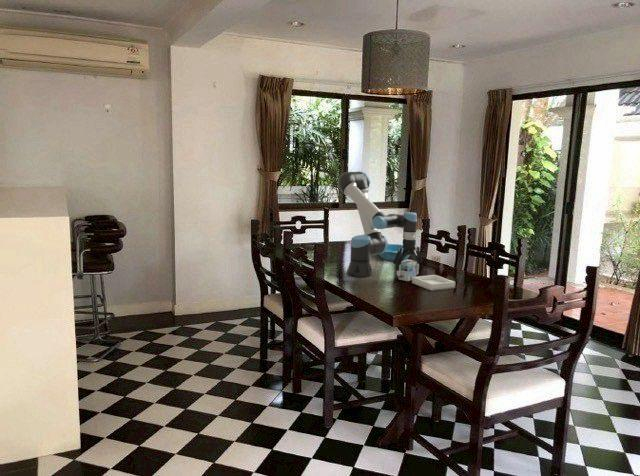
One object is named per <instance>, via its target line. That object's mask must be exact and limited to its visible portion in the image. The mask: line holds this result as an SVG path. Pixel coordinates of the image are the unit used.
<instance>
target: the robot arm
mask: <svg viewBox="0 0 640 476" xmlns="http://www.w3.org/2000/svg"><path fill="white" fill-rule="evenodd" d="M370 184H371V178H370V176H369V175H368V174H367V173H366V172H363V171H346V172H342V173H341V174H340V175H339V177H338V179H337V186H338V189H339V190H340V192H342V194H343V195H345V196H348V198H350V199H351V200H352V202H354V203H355V204H356V207H357V211H358V215H359V218H360V222H361V223H360V224H361V226H362V229H363V232H364V233H363V234H359V235H354V236H353V237H352V238H351V241H350V261H349V264H348V267H347V271H346V274H347V275H348V276H350V277H354V278H355V277H356V278H365V277H366V278H367V277H371V276H372V275H373V270H372V268H371V267H372V266H371V263H370V261H371V258H370V257H371V256H377V255H378V256H379V254H381V253H384V252H385V251H386V249H387V246H388V244H389V242H388V238H386V236H385V235H383V234H382V231H381V230H384V229H392V228H402V245H403V248H398V252H397V254H396V257H395V259H394V260H393V261H392V262H393V263H392V264H394V265H395V270H396V276H397V277H399V276H400V274H401V265H400V264H401V262H402V261H404V260H403V259H404V257H405V256H406V255H409V254H410V256H412V258H413V259H414V261H417V271H416V276H417V275H419V269H420V266H421V264H422V263H423V262H424V261H423V258H422V254H421V251H420V249H421V248H420V246H416V245H417V243H416V241H417V240H416V238H417V226H418V225H417V223H418V215H417V212H412V211H411V212H410V211H406V212H404V213H403V214H398V213H388V214H387V215H385V214H384V212H382V211H381V209H380V208H379V207H377V205H376V204H375V203H374V202H372V200H370V197H369V195H368V194H369V190H370V189H369V188H370ZM402 250H403V252H402ZM401 253H402V255H401ZM404 253H405V254H404Z"/></svg>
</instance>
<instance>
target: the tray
mask: <svg viewBox="0 0 640 476" xmlns="http://www.w3.org/2000/svg"><path fill="white" fill-rule="evenodd" d="M411 283H412V284H414V285H416V286H418V287H422V288H424V289H426V290H429V291H431V292H432V291H433V292H435V291H440V290H441V291H442V290H451V289H456V281H455V280H450V279H448V278H445V277H443V276H440V275H437V274H429V275H419V276H416V277H412V280H411Z"/></svg>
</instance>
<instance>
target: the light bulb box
mask: <svg viewBox="0 0 640 476" xmlns="http://www.w3.org/2000/svg"><path fill="white" fill-rule="evenodd" d="M400 265H401V274H400V276H397V277H398V280H400V281H405V282H410V281H412V277H417V274H416V271H417V261H415V259H414V260H413V259H409V258H408V259H406V260H403V261H402V262H401V264H400Z"/></svg>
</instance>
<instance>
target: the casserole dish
mask: <svg viewBox="0 0 640 476" xmlns="http://www.w3.org/2000/svg"><path fill="white" fill-rule="evenodd" d="M398 248H403V244H397V243H388V246H387V249H386V251H385V252H384V253H381V254H379V255H378V256H379V257H380V258H382V259H383V260H385V261H394V259H395V257H396V254H397V252H398ZM402 252H403V250H402ZM404 254H405V253H404ZM401 255H402V253H401ZM410 256H411V255H410V254H409V255H406V256H405V257H404V259H403V261H404V260H407V259H409V257H410Z"/></svg>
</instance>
